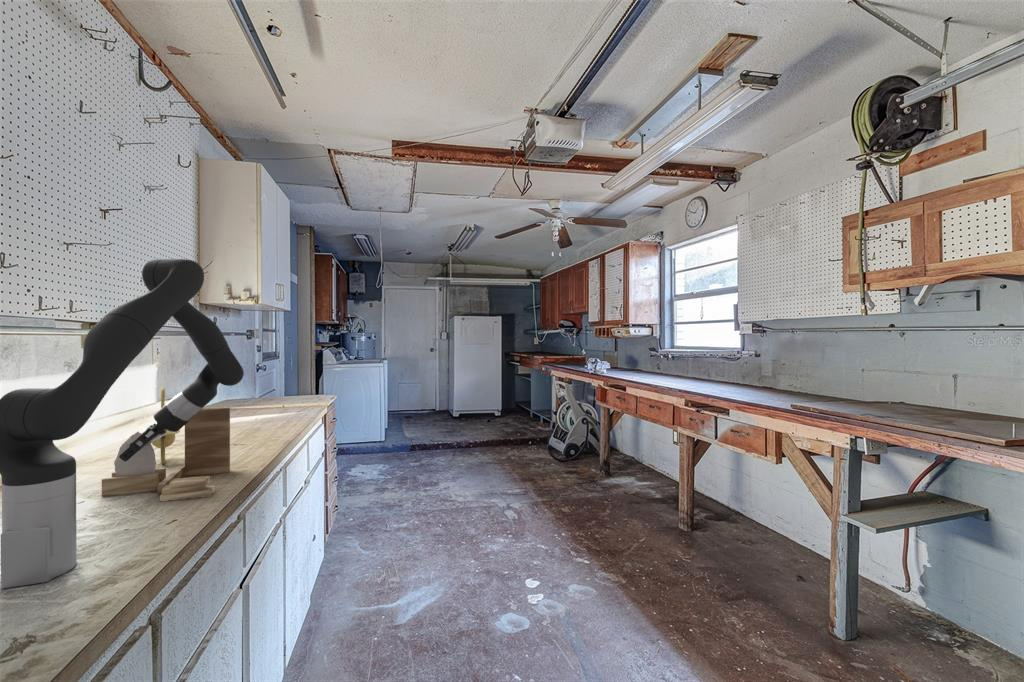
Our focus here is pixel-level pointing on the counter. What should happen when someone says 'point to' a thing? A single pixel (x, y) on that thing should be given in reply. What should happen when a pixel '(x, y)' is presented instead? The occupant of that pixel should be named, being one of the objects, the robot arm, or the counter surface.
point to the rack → (204, 445)
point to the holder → (132, 483)
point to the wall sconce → (168, 437)
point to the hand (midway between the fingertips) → (129, 455)
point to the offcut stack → (187, 488)
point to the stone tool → (135, 460)
